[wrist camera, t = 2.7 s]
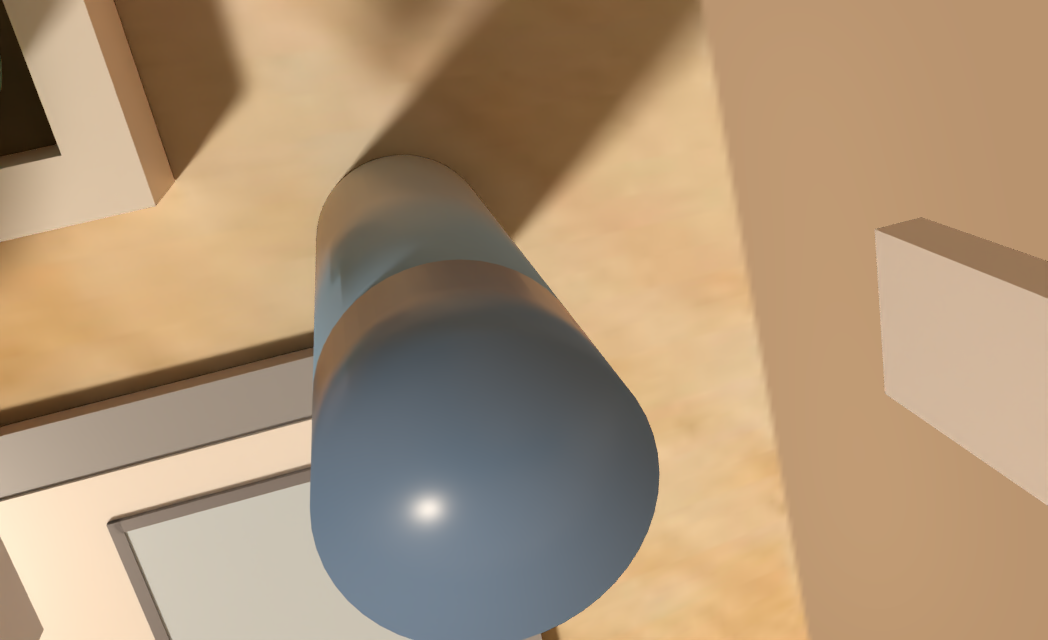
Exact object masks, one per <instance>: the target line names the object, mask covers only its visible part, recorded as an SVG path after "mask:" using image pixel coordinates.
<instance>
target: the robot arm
mask: <svg viewBox="0 0 1048 640" xmlns="http://www.w3.org/2000/svg"><path fill="white" fill-rule="evenodd" d="M875 240H876V255H877V272H878V288H879V303H880V318H881V335H882V352H883V367H884V383H885V394H887V395H888V396H889V397H891V398H892V399H894V400H895V401H897V402H898V403H900V404H901V405H902V406H904V407H906V408H907V409H908V410H910V411H911V412H913V413H914V414H916V415H917V416H918V417H920V418H921V419H923V420H924V421H926V422H927V423H929V424H930V425H932V426H933V427H934V428H936V429H937V430H939V431H940V432H942V433H943V434H945V435H946V436H948V437H949V438H950V439H952V440H953V441H955V442H956V443H958V444H959V445H961V446H962V447H963V448H965V449H967V450H968V451H969V452H971V453H972V454H974V455H975V456H977V457H978V458H980V459H981V460H982V461H984V462H985V463H987V464H988V465H990V466H991V467H992V468H994V469H996V470H997V471H998V472H1000V473H1001V474H1003V475H1004V476H1006V477H1007V478H1008V479H1010V480H1011V481H1013V482H1014V483H1016V484H1017V485H1019V486H1020V487H1022V488H1023V489H1024V490H1026V491H1027V492H1029V493H1030V494H1032V495H1033V496H1035V497H1036V498H1037V499H1039V500H1041V501H1042V502H1043V503H1045V504H1046V505H1048V261H1046V260H1043V259H1040V258H1037V257H1034V256H1031V255H1028V254H1026V253H1023V252H1020V251H1017V250H1014V249H1011V248H1008V247H1005V246H1003V245H1000V244H997V243H994V242H991V241H988V240H985V239H982V238H980V237H976V236H974V235H971V234H968V233H965V232H962V231H960V230H957V229H954V228H950V227H948V226H945V225H942V224H939V223H937V222H934V221H931V220H928V219H925V218H922V217H921V218H917V219H913V220H909V221H905V222H901V223H897V224H893V225H890V226H886V227H882V228H878V229H875ZM43 631H44V629H43V627H42V624H41V622H40V620H39V618H38V616H37V614H36V612H35V609H34V607H33V605H32V603H31V601H30V599H29V597H28V594H27V592H26V590H25V588H24V586H23V584H22V582H21V580H20V577H19V575H18V573H17V571H16V569H15V567H14V565H13V562H12V560H11V558H10V556H9V554H8V552H7V550H6V548H5V545H4V543H3V541H2V539H1V537H0V640H39V639H40V637H41V635H42V633H43Z"/></svg>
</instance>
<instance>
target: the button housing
mask: <svg viewBox="0 0 1048 640" xmlns="http://www.w3.org/2000/svg"><path fill="white" fill-rule="evenodd" d="M2 1H3V3H4V6H5V8H6V11H7V14H8V16H9V19H10V22H11V24H12V27H13V29H14V32H15V35H16V37H17V40H18V42H19V45H20V48H21V50H22V53H23V56H24V58H25V61H26V63H27V66H28V69H29V71H30V74H31V77H32V79H33V82H34V84H35V87H36V90H37V92H38V95H39V98H40V100H41V103H42V105H43V108H44V111H45V113H46V116H47V119H48V121H49V124H50V126H51V129H52V132H53V134H54V137H55V140H56V142H57V144H56V145H51V146H46V147H42V148H37V149H33V150H28V151H24V152H19V153H15V154H10V155H6V156H1V157H0V242H3V241H7V240H11V239H16V238H20V237H24V236H29V235H33V234H37V233H42V232H46V231H50V230H54V229H59V228H63V227H67V226H72V225H76V224H80V223H85V222H89V221H93V220H98V219H102V218H106V217H111V216H115V215H119V214H124V213H128V212H132V211H137V210H141V209H145V208H150V207H154V206H156V205H157V204H158V203H159V201H160V200H161V199H162V198H163V196H164V195H165V194H166V192H167V191H168V190H169V189H170V187H171V186H172V185H173V184H174V182H175V180H174V177H173V174H172V171H171V168H170V166H169V163H168V160H167V157H166V154H165V151H164V148H163V145H162V142H161V139H160V136H159V133H158V130H157V127H156V124H155V121H154V118H153V115H152V112H151V109H150V107H149V104H148V101H147V98H146V95H145V92H144V89H143V86H142V83H141V80H140V77H139V74H138V71H137V68H136V65H135V62H134V59H133V56H132V53H131V50H130V48H129V45H128V42H127V39H126V36H125V33H124V30H123V27H122V24H121V21H120V18H119V15H118V12H117V9H116V6H115V3H114V0H2Z"/></svg>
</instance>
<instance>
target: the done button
mask: <svg viewBox="0 0 1048 640" xmlns="http://www.w3.org/2000/svg"><path fill="white" fill-rule="evenodd" d="M1 85H2V62H1V57H0V91H1Z"/></svg>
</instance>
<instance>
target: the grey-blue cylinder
mask: <svg viewBox="0 0 1048 640" xmlns="http://www.w3.org/2000/svg"><path fill="white" fill-rule="evenodd" d="M658 487H659V463H658V452H657V448H656V444H655V440H654V435H653V432H652V430H651V427H650V425H649V422H648V420H647V417H646V415H645V413H644V412H643V410H642V408H641V407H640V405H639V403H638V401H637V400H636V398H635V397H634V396H633V394H632V393H631V392H630V390H629V389H628V388H627V387H626V385H625V384H624V383H623V381H622V380H621V379H620V378H619V376H618V375H617V374H616V373H615V371H614V370H613V369H612V367H611V366H610V365H609V364H608V362H607V361H606V360H605V358H604V357H603V356H602V355H601V353H600V352H599V351H598V349H597V348H596V347H595V346H594V344H593V343H592V342H591V340H590V339H589V338H588V337H587V335H586V334H585V333H584V332H583V330H582V329H581V328H580V326H579V325H578V324H577V323H576V321H575V320H574V319H573V317H572V316H571V315H570V314H569V312H568V311H567V310H566V308H565V307H564V306H563V305H562V303H561V302H560V301H559V300H558V298H557V297H556V296H555V294H554V293H553V292H552V291H551V289H550V288H549V287H548V285H547V284H546V283H545V282H544V280H543V279H542V278H541V276H540V275H539V274H538V273H537V271H536V270H535V269H534V268H533V266H532V265H531V264H530V262H529V261H528V260H527V259H526V257H525V256H524V255H523V253H522V252H521V251H520V250H519V248H518V247H517V246H516V244H515V243H514V242H513V241H512V239H511V238H510V237H509V235H508V234H507V233H506V232H505V230H504V229H503V228H502V227H501V225H500V224H499V223H498V221H497V220H496V219H495V218H494V216H493V215H492V214H491V212H490V211H489V210H488V209H487V207H486V206H485V205H484V203H483V202H482V201H481V200H480V198H479V197H478V196H477V195H476V193H475V192H474V191H473V189H472V188H471V187H470V186H469V184H468V183H467V182H466V181H465V180H464V179H463V178H462V177H461V176H460V175H458V174H457V173H456V172H454V171H453V170H452V169H450V168H449V167H447V166H445V165H443V164H441V163H439V162H437V161H434V160H431V159H428V158H424V157H420V156H413V155H392V156H386V157H381V158H378V159H375V160H372V161H369V162H367V163H365V164H363V165H361V166H359V167H358V168H356V169H354V170H353V171H351V172H350V173H349V174H348V175H346V176H345V177H344V178H343V179H342V180H341V181H340V182H339V183H338V184H337V185H336V186H335V187H334V189H333V190H332V192H331V193H330V195H329V196H328V198H327V200H326V202H325V204H324V206H323V208H322V211H321V214H320V216H319V221H318V226H317V236H316V272H315V313H314V354H313V395H312V436H311V477H310V517H311V529H312V533H313V537H314V542H315V546H316V550H317V552H318V554H319V557H320V559H321V562H322V564H323V566H324V569H325V570H326V572H327V573H328V575H329V577H330V578H331V580H332V582H333V583H334V585H335V586H336V587H337V589H338V590H339V591H340V592H341V593H342V595H343V596H344V597H345V598H346V599H347V601H348V602H350V603H351V604H352V605H353V606H354V607H355V608H356V609H357V610H359V611H360V612H361V613H362V614H363V615H365V616H366V617H368V618H369V619H371V620H372V621H374V622H375V623H377V624H378V625H380V626H381V627H383V628H386V629H388V630H390V631H392V632H394V633H396V634H398V635H400V636H403V637H406V638H409V639H412V640H523V639H526V638H529V637H532V636H535V635H537V634H540V633H543V632H545V631H548V630H550V629H552V628H554V627H556V626H558V625H560V624H562V623H564V622H566V621H567V620H569V619H570V618H572V617H574V616H575V615H577V614H579V613H580V612H582V611H583V610H584V609H586V608H587V607H588V606H590V605H591V604H592V603H593V602H595V601H596V600H597V599H599V598H600V597H601V596H602V595H603V594H604V593H605V592H606V591H607V590H608V589H609V588H610V587H611V586H612V585H613V584H614V583H615V582H616V581H617V580H618V578H619V577H620V576H621V575H622V573H623V572H624V571H625V570H626V569H627V567H628V566H629V564H630V563H631V561H632V560H633V558H634V557H635V555H636V553H637V552H638V550H639V549H640V546H641V544H642V542H643V540H644V538H645V536H646V534H647V532H648V529H649V526H650V523H651V520H652V518H653V515H654V511H655V506H656V501H657V496H658Z"/></svg>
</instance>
